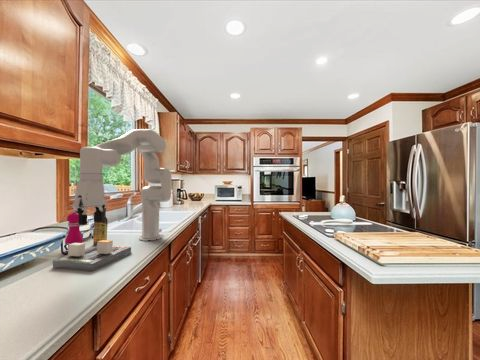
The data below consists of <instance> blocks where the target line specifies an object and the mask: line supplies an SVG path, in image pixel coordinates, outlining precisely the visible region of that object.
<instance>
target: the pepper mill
mask: <svg viewBox="0 0 480 360" xmlns="http://www.w3.org/2000/svg"><path fill="white" fill-rule="evenodd" d="M66 221H67V222H68V223H67V226H68V228H69V229H68V232H67V235H66V237H65V240H64V244H65V245H66V244H67V243H70V244H72V243H83V242H84V238H83V235H82V233H81V231H80V230H81V229H80V226H81V225H79V215H78V214H77V212H76V211H75V209H72V212H71V213H69V214H68V215H67V216H66Z"/></svg>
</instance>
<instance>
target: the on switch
mask: <svg viewBox="0 0 480 360" xmlns="http://www.w3.org/2000/svg"><path fill="white" fill-rule="evenodd" d="M85 249H86V243H85V242H84V243H83V242H82V243H72V244H69V245H68V252H67V255H68V256H81V255H84V254H85Z"/></svg>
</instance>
